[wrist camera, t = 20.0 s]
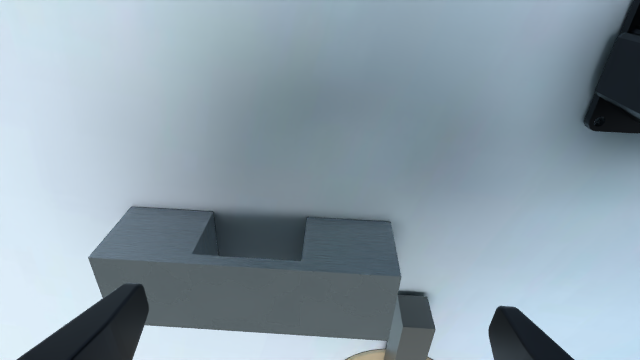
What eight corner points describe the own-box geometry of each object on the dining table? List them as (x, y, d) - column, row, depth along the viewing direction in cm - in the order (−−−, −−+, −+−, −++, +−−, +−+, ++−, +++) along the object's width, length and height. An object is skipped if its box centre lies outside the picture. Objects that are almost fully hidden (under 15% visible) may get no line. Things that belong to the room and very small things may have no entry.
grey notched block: (390, 222, 23) (401, 276, 19) (380, 281, 25) (388, 340, 21) (131, 206, 23) (88, 257, 19) (146, 267, 26) (111, 322, 22)
